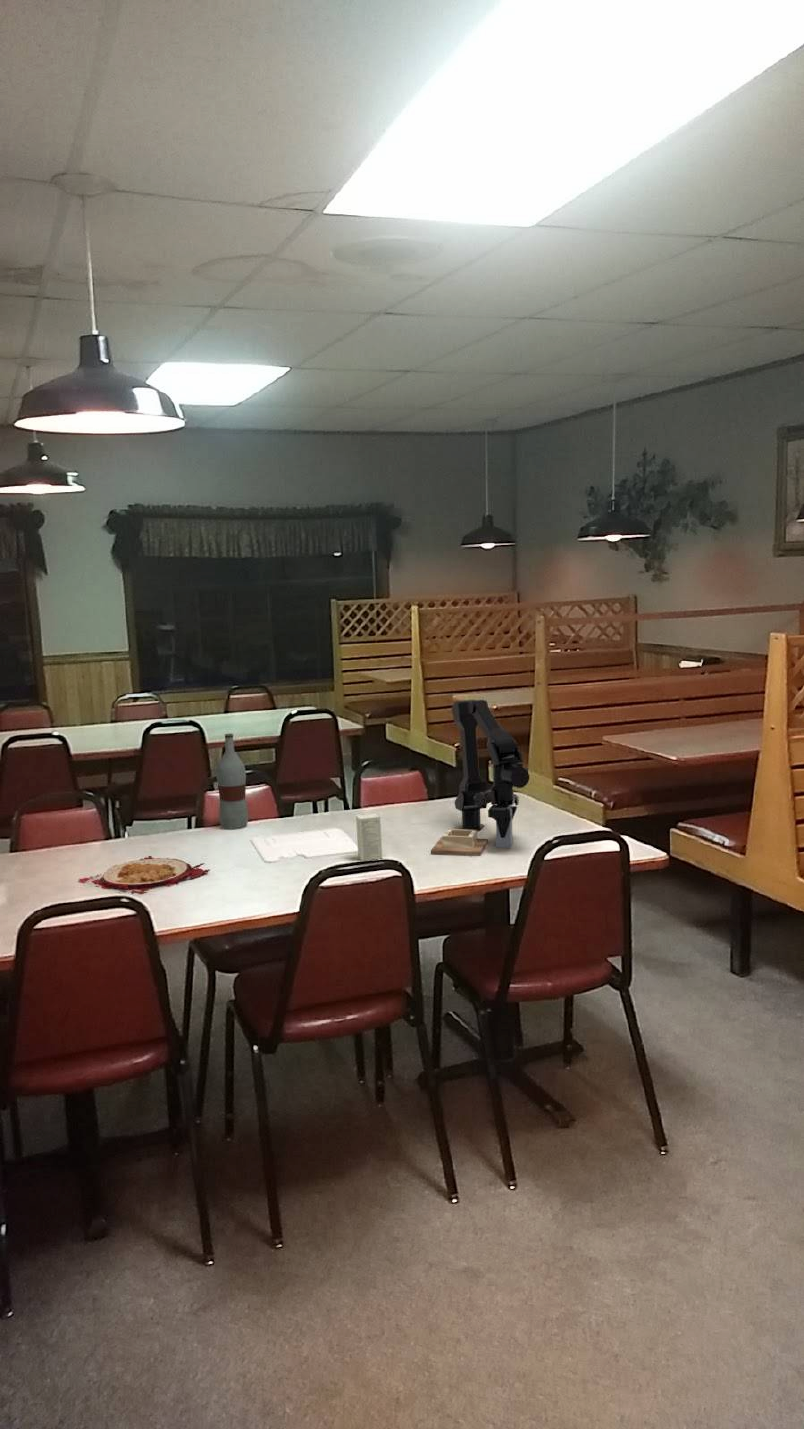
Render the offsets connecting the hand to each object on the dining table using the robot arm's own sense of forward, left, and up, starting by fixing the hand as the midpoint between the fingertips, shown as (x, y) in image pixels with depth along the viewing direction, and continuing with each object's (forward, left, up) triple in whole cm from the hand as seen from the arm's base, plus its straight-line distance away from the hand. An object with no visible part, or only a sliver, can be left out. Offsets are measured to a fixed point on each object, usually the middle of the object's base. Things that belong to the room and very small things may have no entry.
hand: (504, 834), depth 276 cm
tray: (+8, -58, -4) cm, 59 cm away
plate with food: (+44, -90, -4) cm, 100 cm away
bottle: (-11, -89, -3) cm, 90 cm away
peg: (0, 0, -3) cm, 3 cm away
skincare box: (+18, -35, -3) cm, 39 cm away
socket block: (+5, -12, -3) cm, 13 cm away
